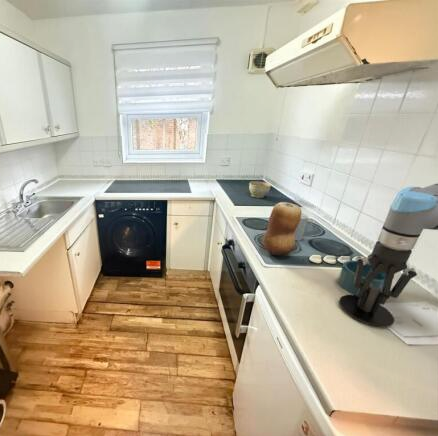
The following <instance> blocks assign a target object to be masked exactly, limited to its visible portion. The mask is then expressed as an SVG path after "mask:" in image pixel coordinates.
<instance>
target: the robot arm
mask: <svg viewBox="0 0 438 436" xmlns="http://www.w3.org/2000/svg"><path fill="white" fill-rule="evenodd" d="M424 230H431V231H432V230H433V231H438V182H437V183H434V184H430V185H428V186H427V185H426V186H424V187H420V186H407V187H404V188H402V189H401V190H399V191H398V192H397V193H396V195H395V197H394V198H393V201H392V202H391V204H390V205H389V210H388V213H387V215H386V217H385V220H384V222H383V225H382V228H381V230H380V232H379V234H378V237H377V241H375V244H374V247H373V249H372V252H371V253H370V254H369V255H368V256H365V257H361V256H357V257H356V261H357V262H358V265H357V269H356V273H355V278H354V286H355V287H358V288H359V290H358V292H357V297H358V298H359V300H358V302H357V304H358V308H362V306H363V303H364V301H365V299H366V296H367V294H368V290H367V288H368V286H369V285H370V283H371V282H372V281H373V279H374V278H375V276H376V275H378V273H379V272H380V273H385V274H386V275H385V279H384V284H383V289H382V292H380V293H379V296H378V298H377V300H376V302H375V304H374V306H373V309H372V312H374V313H376V311H377V309H378V307H379V305H382V306H383V305H385V303H386V302H387V300H388V299H390V298H391V297H392V298H393V299H397V298H399V296H400V295H401V293H402V292H403V291H404V289H405V287H407V285H408V283H409V282H410V281H411V280H412V279H413V278H415V277H416V276H418V274H417V272H416V270H415V269H414V268H410V267H409V266H408V264H407V263H408V261H409V259H410V257H411V256H412V253H413V249H414V248H415V246H416V244H417V242H418V240H419V238H420V236H421V234H422V232H423V231H424ZM366 263H368V264H371V266H372V267H371V269H370V271H369V272H368V274H367V275H366V277H365V278H364V280H363V281H362V282H361V283H360V281H361V277H362V273H363V269H364V265H366ZM399 272H402V274H401V275H400V276H399V278H398V280H396V282H395V284H394V285H393V280H394V278H395V274H398V273H399ZM392 285H393V287H392Z"/></svg>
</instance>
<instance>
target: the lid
mask: <svg viewBox="0 0 438 436" xmlns="http://www.w3.org/2000/svg"><path fill="white" fill-rule="evenodd" d="M380 291H381V289H380V288H378V287H376V286H373V285H370V286H369V287H368V294H367V296H366V299H365V301H364V303H363V306H362V308H358V304H357V302H358V300H359V298H358V297H357V296H356V295H353V294H345V295H342V296H340V298H339V300H338V303H339V305H340V307H341V308H342V310H343V311H344V312H345V313H347V314H348V315H349V316H350V317H352V318H354V319H355V320H358V321H359V322H362V323H364V324H367V325H370V326H373V327H379V328H388V327H391V326H392V325H393V324H394V323H395V317H394V316H393V314H392V313H391V311H390V310H388V309H387V308H386V307H384V306H383V305H382V304H380V305H379V307H378V309H377V311H376V313H374V312H372V309H373V306H374V304H375V302H376V300H377V298H378V296H379V293H380Z"/></svg>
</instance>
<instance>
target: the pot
mask: <svg viewBox="0 0 438 436" xmlns="http://www.w3.org/2000/svg"><path fill="white" fill-rule="evenodd" d="M357 265H358V262H357V260H347V261H345V262H343V264H342V267H341V269H340V272H339V274H338V277H337V284H338V286H339V287H340V288H341V289H343V290H344V291H345V292H347V293H349V294H350V295H356V296H357V292H358V290H359V288H358V287H355V286H354V278H355V273H356V269H357ZM371 267H372V266H371V264H370V263H369V262H367V263H366V265H364V269H363V273H362V277H361V281H360V283H361V282H362V281H363V280H364V278H365V277H366V275H367V274H368V272H369V271H370V269H371ZM385 275H386V274H385V273H380V272H379V273H378V275H376V276H375V278H374V279H373V281H372V282H371V283H370V285H373V286H376V287H378V288H380V289H381V291H380V292H382V289H383V284H384V279H385ZM370 285H369V286H370ZM369 286H368V287H369ZM367 290H368V288H367Z"/></svg>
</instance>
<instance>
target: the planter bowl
mask: <svg viewBox="0 0 438 436" xmlns="http://www.w3.org/2000/svg"><path fill="white" fill-rule="evenodd" d="M271 187H272V184H271V183H269V182H266V181H250V182H249V184H248V188H249V193H250V194H251V197H253V198H257V199H263V198H265V196H266V195H267V194H268V193H269V192H270V190H271Z"/></svg>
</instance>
